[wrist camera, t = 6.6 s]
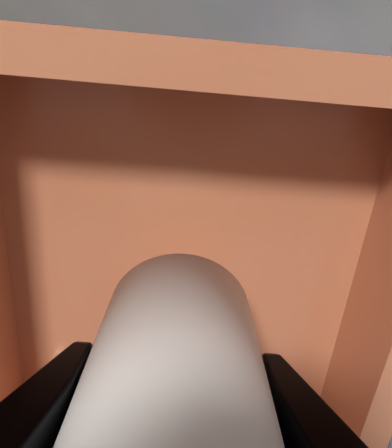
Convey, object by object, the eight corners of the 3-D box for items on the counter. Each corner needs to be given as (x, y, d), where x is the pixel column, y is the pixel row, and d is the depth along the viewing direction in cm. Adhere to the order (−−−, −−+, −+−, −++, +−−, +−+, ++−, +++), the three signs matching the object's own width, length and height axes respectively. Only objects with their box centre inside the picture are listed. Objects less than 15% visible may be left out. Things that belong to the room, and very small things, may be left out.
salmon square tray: (330, 415, 16) (365, 501, 12) (9, 397, 15) (-41, 482, 12) (432, 74, 11) (537, 70, 7) (-44, 31, 10) (-156, 5, 7)
